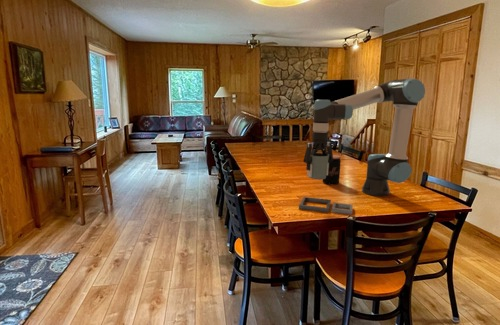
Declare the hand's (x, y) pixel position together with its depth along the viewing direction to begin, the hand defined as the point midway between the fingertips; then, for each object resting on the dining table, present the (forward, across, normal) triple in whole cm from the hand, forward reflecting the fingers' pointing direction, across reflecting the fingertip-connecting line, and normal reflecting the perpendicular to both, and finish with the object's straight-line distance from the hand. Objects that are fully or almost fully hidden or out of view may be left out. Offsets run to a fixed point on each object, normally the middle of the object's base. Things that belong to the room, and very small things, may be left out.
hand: (317, 175), depth 159 cm
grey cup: (+1, 0, 0) cm, 1 cm away
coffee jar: (+16, -36, -32) cm, 51 cm away
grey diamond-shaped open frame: (+16, -8, +11) cm, 21 cm away
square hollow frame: (+16, 0, 0) cm, 16 cm away
